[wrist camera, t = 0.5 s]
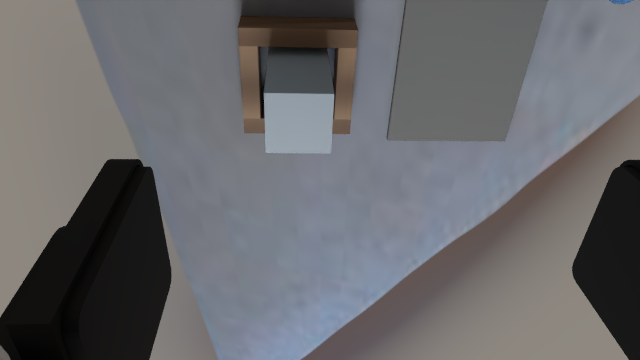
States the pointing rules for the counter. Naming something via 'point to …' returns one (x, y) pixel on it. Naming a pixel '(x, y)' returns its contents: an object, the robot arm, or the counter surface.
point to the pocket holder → (297, 34)
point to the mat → (461, 68)
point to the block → (298, 100)
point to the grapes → (620, 1)
